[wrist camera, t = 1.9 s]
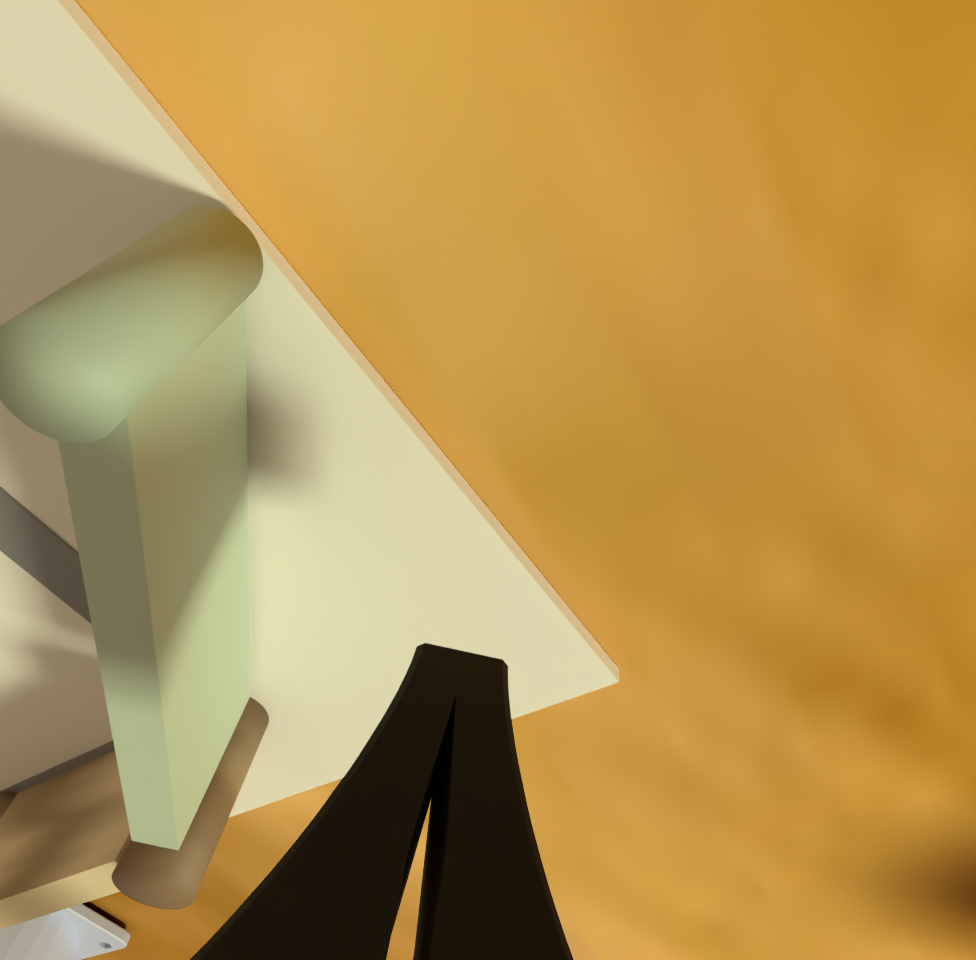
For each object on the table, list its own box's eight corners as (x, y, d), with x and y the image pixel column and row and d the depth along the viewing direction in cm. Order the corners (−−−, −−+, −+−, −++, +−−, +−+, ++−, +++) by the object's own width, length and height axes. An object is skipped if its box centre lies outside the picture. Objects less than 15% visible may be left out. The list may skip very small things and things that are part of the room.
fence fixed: (30, 824, 25) (-71, 981, 21) (-17, 795, 24) (-131, 951, 20) (282, 722, 20) (211, 899, 16) (234, 682, 19) (147, 857, 16)
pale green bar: (261, 699, 19) (179, 882, 15) (199, 686, 19) (102, 865, 15) (263, 217, 12) (114, 336, 8) (164, 196, 12) (-31, 305, 8)
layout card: (86, 858, 26) (78, 870, 26) (-571, 437, 18) (-596, 446, 18) (618, 668, 18) (619, 684, 18) (-156, -283, 10) (-187, -294, 9)
